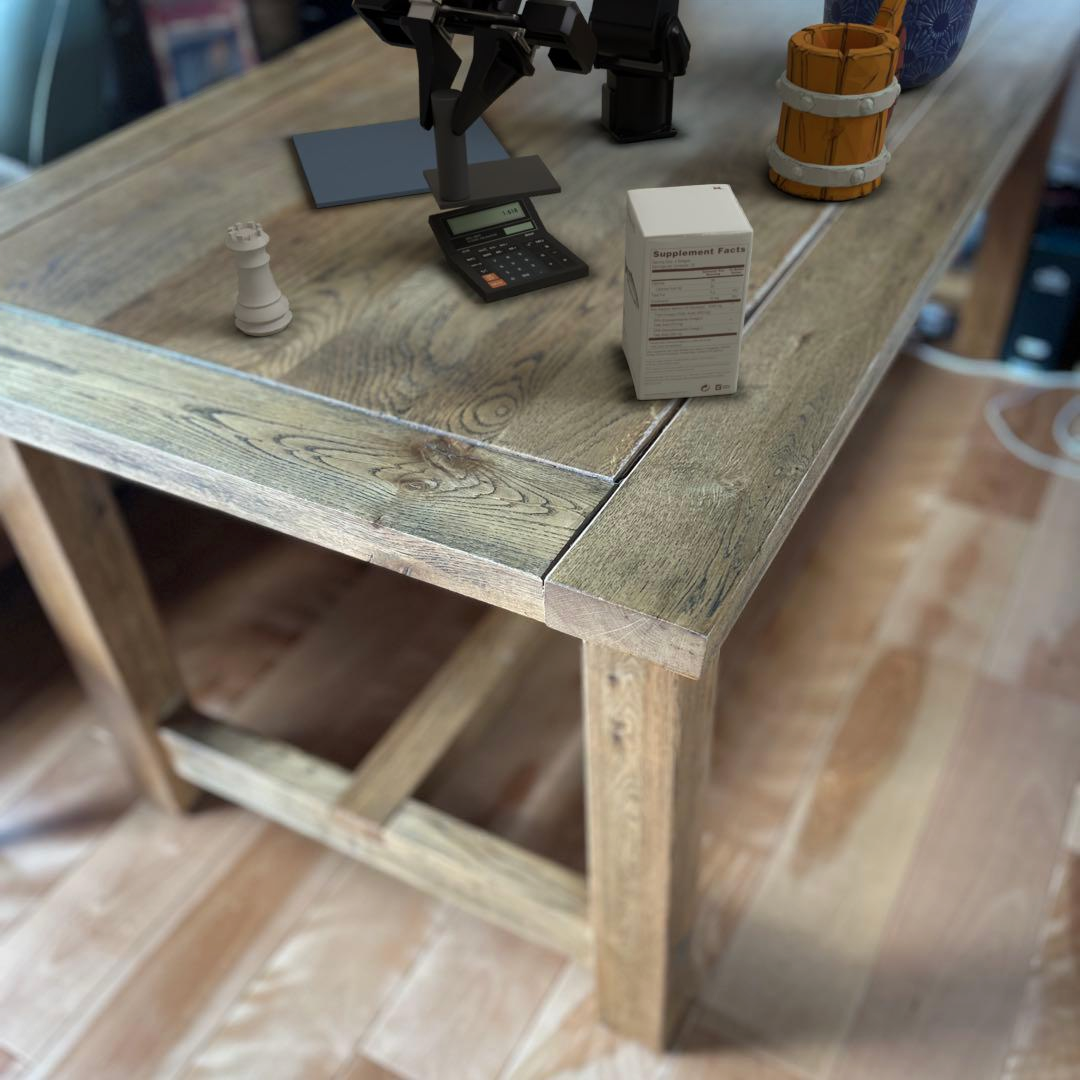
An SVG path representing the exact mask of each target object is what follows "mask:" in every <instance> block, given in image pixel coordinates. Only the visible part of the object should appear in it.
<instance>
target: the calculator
mask: <svg viewBox="0 0 1080 1080" xmlns="http://www.w3.org/2000/svg"><path fill="white" fill-rule="evenodd" d="M427 223H428V225H429V227H430V229H431V231H432V233H433V235H434V237H435V239H436V241H437V243H438V246H439V247H440V249H441V251H442V253H443V255H444V257H445V259H446V261H447V263H448V266H449V267H450V268H451V269H452V270H453V271H454V272H455V273H456V274H457V275H459V277H460V278H461V279H462V280H463V281H464V282H465V283H466V284H467V285H469V287H470V288H471V289H473V291H474V292H476V294H477V295H478V296H479V297H480V298H481V299H482V300H483V301H484V302H485V303H486V304H489V303H493V302H497V301H499V300H503V299H507V298H511V297H515V296H519V295H522V294H525V293H529V292H533V291H537V290H540V289H544V288H548V287H552V286H555V285H558V284H561V283H566V282H569V281H573V280H576V279H580V278H585V277H587V276H588V277H589V275H590V266H589V265H588V264H587V263H586V262H585V261H584V260H582V258H580V257H579V256H578V255H576V254H575V253H574V252H573V251H572V250H570V249H569V248H568V247H566V246H565V244H563V243H562V242H560V240H558V239H557V238H556V237H555V236H553V235H552V234H551V233H550V232H548V230H547V228H546V227H545V224H544V222H543V220H542V218H541V217H540V215H539V213H538V211H537V210H536V208H535V205H534V203H533V202H532V200H531V197H528V198H521V199H514V200H507V201H500V202H494V203H487V204H480V205H473V206H466V207H459V208H454V209H451V210H450V209H449V210H447V211H442V212H439V213H435V214H429V215H428V219H427Z"/></svg>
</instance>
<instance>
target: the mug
mask: <svg viewBox="0 0 1080 1080" xmlns="http://www.w3.org/2000/svg"><path fill="white" fill-rule="evenodd" d="M906 2H907V0H883V2H882V4H881V6H880V9H879V11H878V13H877V16H876V18H875V21H874V24H873V26H872V27H871V26H867V25H861V24H853V23H847V24H845V23H839V24H837V25H835V24H832V23H823V22H822V23H817V24H811V25H809V26H806V27H803V28H801V29H800V30H798V31H796V32H795V33H794V34H792V35H791V36H790V38H789V39H788V41H787V55H786V69H785V70H784V71H782V74H781V77H779V78H777V80H776V82H775V85H774V86H775V89H776V90H777V91H778V92H779V93H778V96H779V98H780V99H781V101H782V103H781V110H780V115H779V122H778V128H777V135H776V136H774V138H773V139H772V140H771V142H770V144H769V145H768V146H767V148H766V150H765V156H766V158H767V159H768V165H769V166H770V168H769V171H768V174H769V181H770V182H771V183H772V184H773V185H775V186H776V187H777V189H781V190H782V191H783V192H785V193H787V194H790V195H793V196H796V197H799V198H800V197H801V198H805V199H811V200H815V201H819V200H824V201H835V202H837V201H841V202H843V201H849V200H854V199H857V198H859V197H865V196H867V195H869V194H871V193H872V192H873V191H875V190H876V189H877V188H878V187H879V186H880V184H881V182H882V174H884V172H885V170H886V166H889V164H890V162H891V160H892V157H891V152H889V151H888V148H887V144H886V143H885V136H886V130H887V128H888V126H889V124H890V120H891V118H892V116H893V112H894V108H895V107H896V105H897V102H898V98H899V96H900V94H901V91H902V89H900V81H898V78H899V73H900V69H902V68H903V59H904V45H905V42H906V30H905V26H904V22H903V19H902V18H901V17H902V15H903V12H904V9H905V5H906Z"/></svg>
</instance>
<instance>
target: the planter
mask: <svg viewBox="0 0 1080 1080" xmlns="http://www.w3.org/2000/svg"><path fill="white" fill-rule="evenodd" d="M978 1H979V0H907V2H906V5H905V9H904V12H903V15H902V17H901V18H902V19H903V22H904V26H905V30H906V42H905V45H904V59H903V68H902V69H900V73H899V78H898V81H900V89H901V90H904V89H905V90H906V89H912V88H917V87H921V86H924V85H927V84H929V83H931V82H933V81H935V80H937V79H938V78H939V77H940V76H942V75H943V74H944V73H946V71H948V70H949V69H950V67H952V65H953V64H954V62H955V61H956V59H957V58H958V56H959V54H960V53H961V51H962V49H963V47H964V45H965V42H966V40H967V37H968V35H969V31H970V28H971V26H972V21H973V19H974V14H975V11H976V8H977V4H978ZM882 2H883V0H824V2H823V14H822V15H823V16H822V17H823V18H822V23H832V24H835V25H837V24H839V23H845V24H847V23H853V24H861V25H867V26H871V27H872V26H873V24H874V21H875V18H876V16H877V13H878V11H879V9H880V6H881V4H882Z"/></svg>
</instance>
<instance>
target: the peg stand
mask: <svg viewBox="0 0 1080 1080" xmlns="http://www.w3.org/2000/svg"><path fill="white" fill-rule="evenodd" d="M461 91H462V90H461V89H457V88H452V87H451V88H446V89H439V90H436V91H434V92H432V94H431V104H432V115H433V126H434V137H435V148H436V159H437V168H436V169H429V170H423V176H424V178H425V180H426V182H427V184H428V186H429V188H430V190H431V192H430V193H431V194H432V197H433V198H434V200H435V202H436V204H437V207H438V209H439V210H440V211H443V210H450V209H451V210H453V209H459V208H463V207H467V206H473V205H480V204H487V203H494V202H500V201H507V200H514V199H521V198H528V197H529V198H534V197H542V196H549V195H555V194H561V193H562V187H561V185H560V184H559V182H558V180H556V178H555V177H554V176H553V174H552V172H551V171H550V169H549V168H548V166H547V165H546V164H545V162H544V160H542V158H541V157H540V156H539V154H534V155H533V154H532V155H526V156H525V155H524V156H518V157H510V159H502V160H495V161H488V162H480V163H473V164H468V163H467V149H466V135H465V132H464V133H463V134H462V135H461V136H455V135H454V134H453V132H452V131H451V126H452V121H453V117H454V112H455V109H456V106H457V103H458V100H459V97H460V94H461Z"/></svg>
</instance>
